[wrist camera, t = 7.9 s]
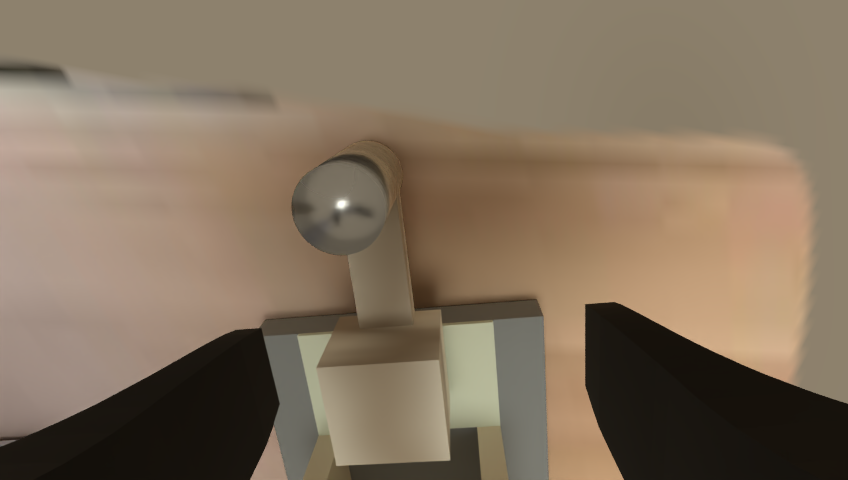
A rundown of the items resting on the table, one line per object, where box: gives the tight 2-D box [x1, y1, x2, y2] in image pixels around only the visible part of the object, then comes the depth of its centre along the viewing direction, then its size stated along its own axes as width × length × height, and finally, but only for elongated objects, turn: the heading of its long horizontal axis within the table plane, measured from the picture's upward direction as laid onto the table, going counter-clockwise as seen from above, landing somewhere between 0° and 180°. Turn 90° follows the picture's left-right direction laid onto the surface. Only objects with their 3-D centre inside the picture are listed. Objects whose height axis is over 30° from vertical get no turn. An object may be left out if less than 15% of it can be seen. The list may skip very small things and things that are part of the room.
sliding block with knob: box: [292, 141, 450, 466], centre depth 16 cm, size 4×11×5 cm, turn 6°
